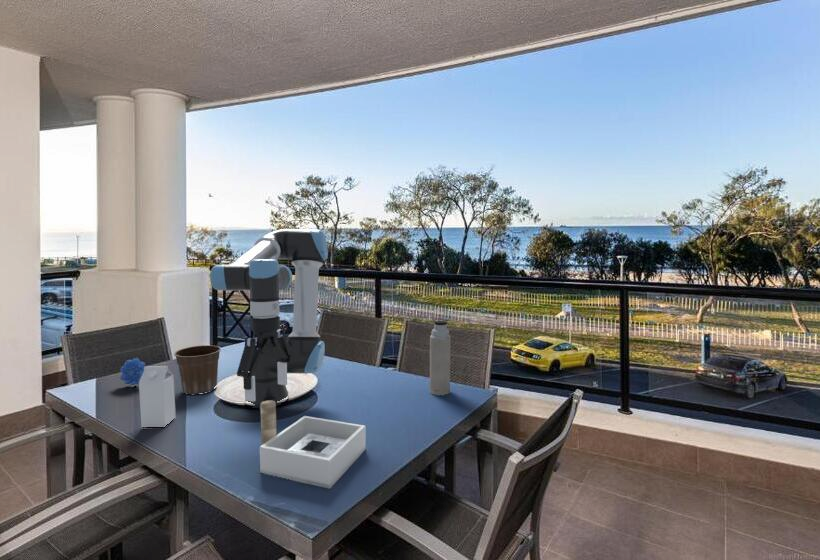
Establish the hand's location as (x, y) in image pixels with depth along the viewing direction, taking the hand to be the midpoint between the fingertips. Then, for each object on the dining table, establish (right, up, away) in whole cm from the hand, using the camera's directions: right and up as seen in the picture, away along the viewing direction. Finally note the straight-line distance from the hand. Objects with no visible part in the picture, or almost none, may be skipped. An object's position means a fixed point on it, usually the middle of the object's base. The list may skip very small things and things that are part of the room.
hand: (267, 392), depth 115 cm
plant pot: (-44, -13, +50) cm, 67 cm away
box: (+14, -18, -3) cm, 23 cm away
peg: (0, -17, +2) cm, 17 cm away
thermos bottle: (+51, -13, +49) cm, 72 cm away
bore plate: (+14, -18, -3) cm, 23 cm away
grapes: (-72, -12, +54) cm, 91 cm away
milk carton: (-42, -16, +19) cm, 48 cm away
